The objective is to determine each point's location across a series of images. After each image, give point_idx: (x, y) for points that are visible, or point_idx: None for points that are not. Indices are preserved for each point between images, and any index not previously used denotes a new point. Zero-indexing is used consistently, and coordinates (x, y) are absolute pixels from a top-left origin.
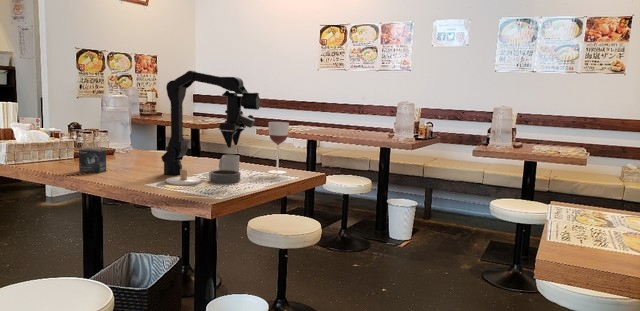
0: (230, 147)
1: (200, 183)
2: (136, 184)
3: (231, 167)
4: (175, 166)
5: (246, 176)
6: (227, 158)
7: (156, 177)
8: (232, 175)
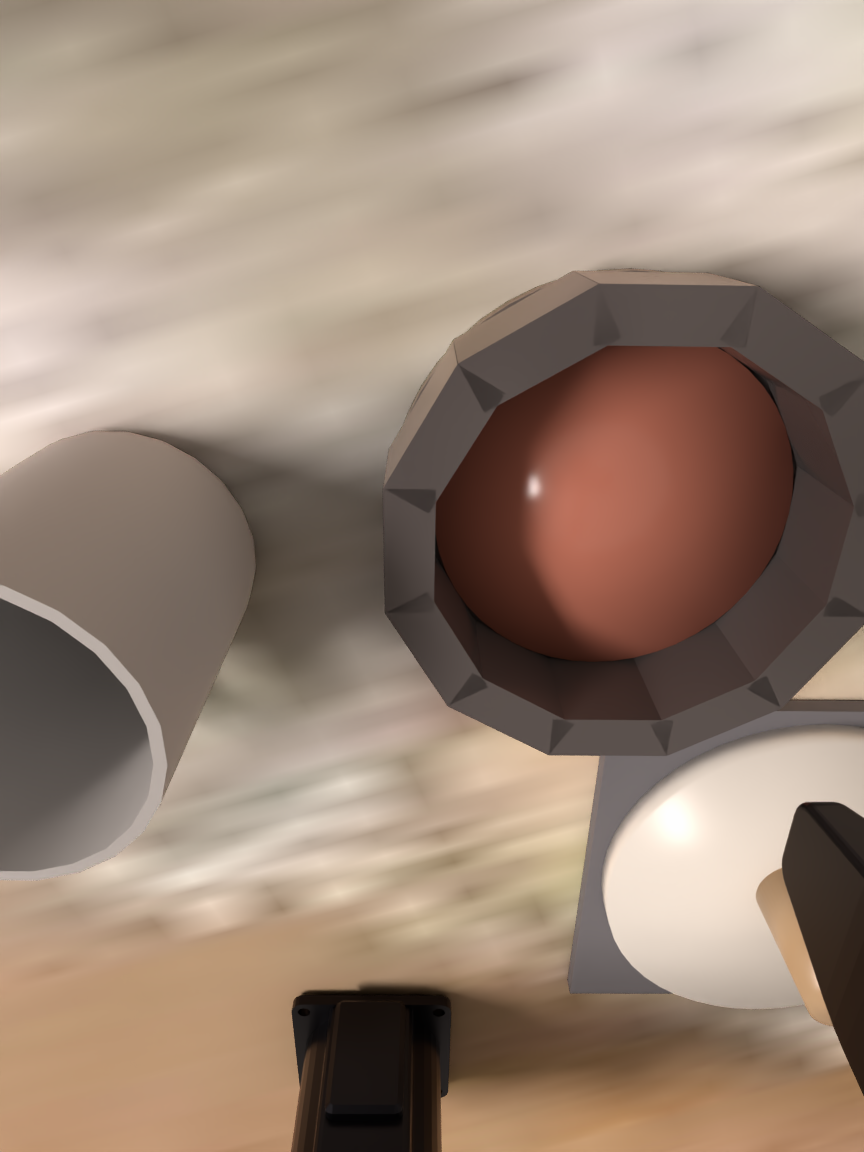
0: (831, 803)
1: (845, 711)
2: (856, 1101)
3: (205, 573)
4: (415, 1119)
5: (3, 313)
6: (175, 738)
7: (515, 1094)
8: (862, 364)
